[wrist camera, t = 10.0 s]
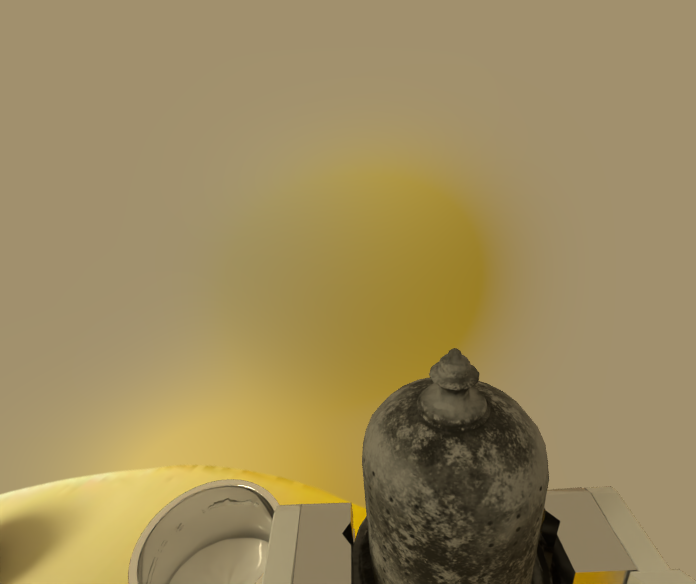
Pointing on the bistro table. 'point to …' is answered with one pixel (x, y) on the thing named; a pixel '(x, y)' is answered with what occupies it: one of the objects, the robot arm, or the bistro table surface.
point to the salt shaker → (452, 485)
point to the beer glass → (207, 537)
